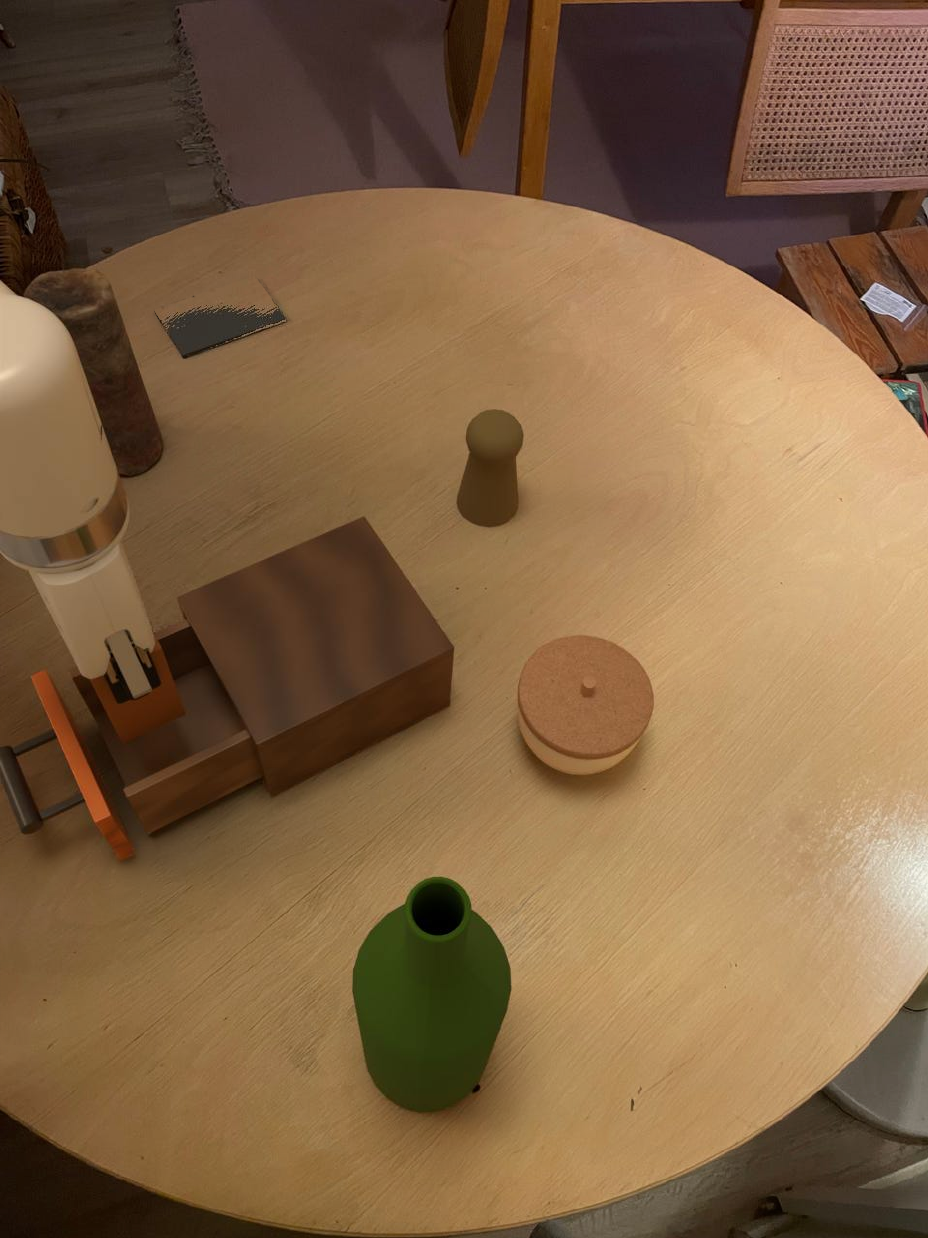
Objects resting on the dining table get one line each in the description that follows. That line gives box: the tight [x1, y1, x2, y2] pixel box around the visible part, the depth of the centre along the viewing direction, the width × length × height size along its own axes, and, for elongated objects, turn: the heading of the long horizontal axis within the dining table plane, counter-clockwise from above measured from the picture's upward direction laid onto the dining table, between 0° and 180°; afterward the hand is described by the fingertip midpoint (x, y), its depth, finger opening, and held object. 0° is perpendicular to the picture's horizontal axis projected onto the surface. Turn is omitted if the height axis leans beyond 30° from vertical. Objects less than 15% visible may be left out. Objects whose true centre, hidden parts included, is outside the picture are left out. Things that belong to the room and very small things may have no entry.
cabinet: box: [176, 515, 455, 798], centre depth 85 cm, size 17×15×10 cm
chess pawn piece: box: [456, 408, 525, 528], centre depth 96 cm, size 6×6×11 cm
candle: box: [22, 268, 163, 477], centre depth 94 cm, size 8×7×20 cm
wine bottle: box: [351, 876, 512, 1113], centre depth 60 cm, size 9×9×32 cm
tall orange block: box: [90, 627, 186, 744], centre depth 73 cm, size 5×4×12 cm
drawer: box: [0, 618, 263, 861], centre depth 81 cm, size 21×14×8 cm, turn 121°
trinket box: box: [516, 634, 655, 776], centre depth 84 cm, size 11×11×9 cm
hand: (125, 664), depth 73 cm, fingers closed on tall orange block, 4 cm apart
